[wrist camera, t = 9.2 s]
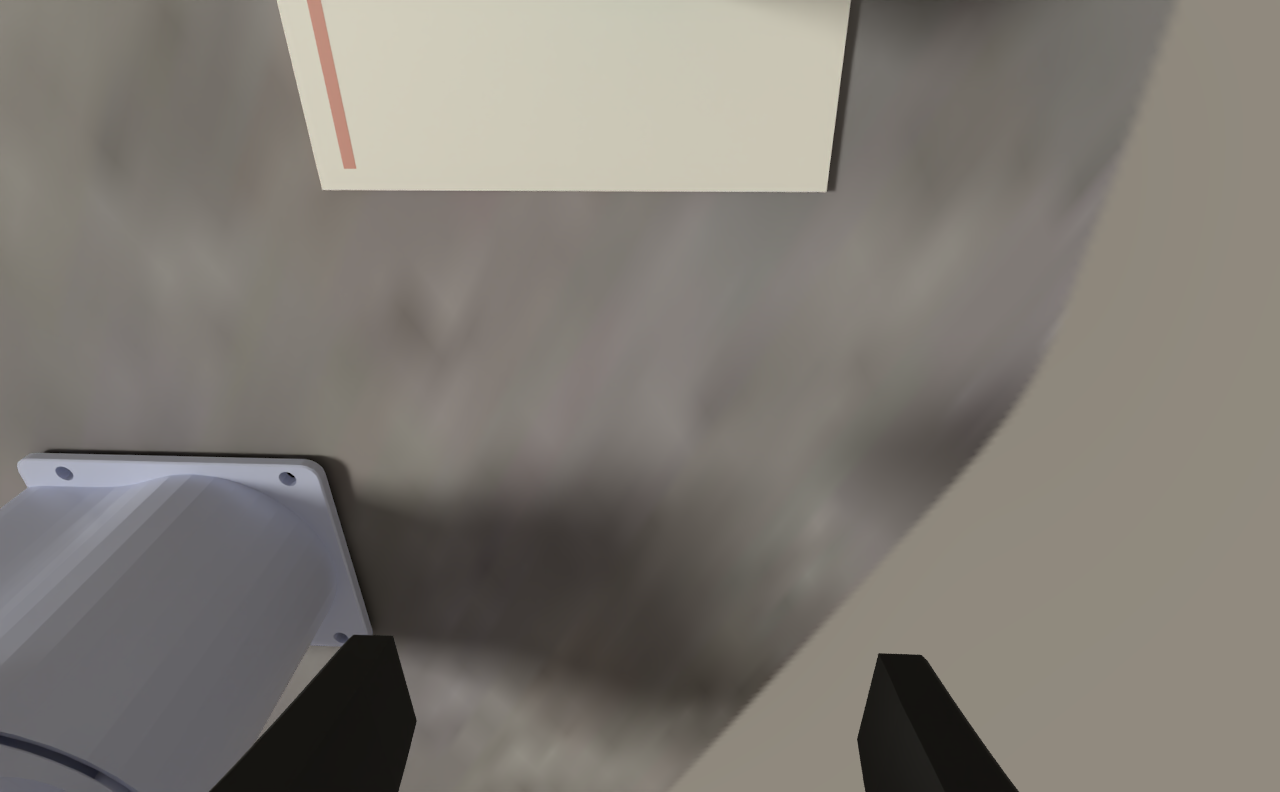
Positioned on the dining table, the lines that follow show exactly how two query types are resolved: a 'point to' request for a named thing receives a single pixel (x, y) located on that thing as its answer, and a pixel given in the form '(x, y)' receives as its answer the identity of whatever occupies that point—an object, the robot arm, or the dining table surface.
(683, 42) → the paper
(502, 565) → the dining table surface
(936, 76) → the dining table surface
